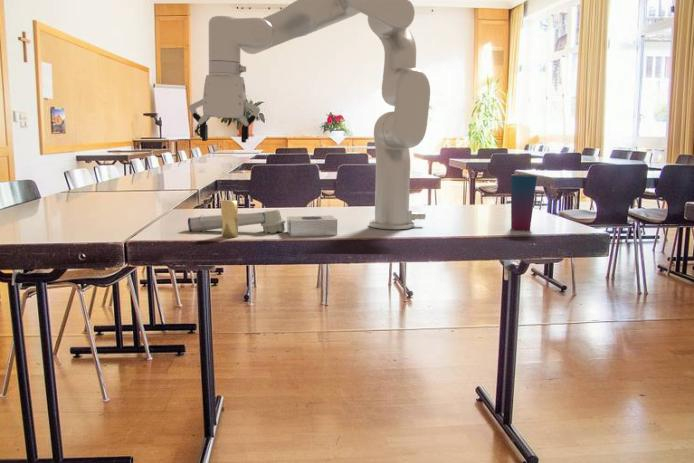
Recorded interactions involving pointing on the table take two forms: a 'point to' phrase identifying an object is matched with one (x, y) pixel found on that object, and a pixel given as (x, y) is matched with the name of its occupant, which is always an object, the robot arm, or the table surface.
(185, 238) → the table surface
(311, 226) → the block
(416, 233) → the table surface
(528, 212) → the cup
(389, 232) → the table surface
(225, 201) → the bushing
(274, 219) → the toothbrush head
